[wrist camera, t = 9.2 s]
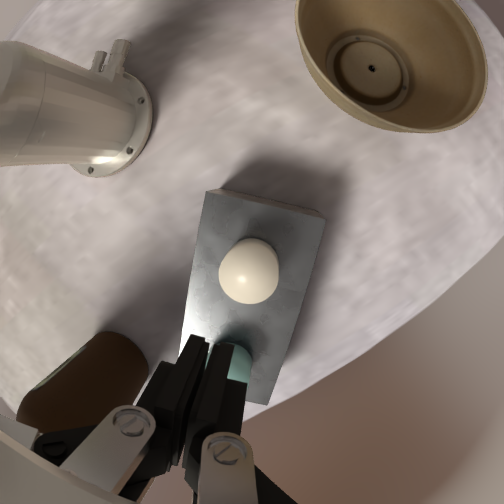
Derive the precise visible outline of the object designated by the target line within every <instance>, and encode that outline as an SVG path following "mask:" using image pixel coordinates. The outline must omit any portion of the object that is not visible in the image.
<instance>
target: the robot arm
mask: <svg viewBox="0 0 504 504" xmlns="http://www.w3.org/2000/svg"><path fill="white" fill-rule="evenodd" d="M130 45H131V42H129V41H127V40H123V39H117V40H115V41H114V44H113V47H112V50H111V53H110V58H109V61H108V64H107V65H104V67H103V70H102V71H101V69H102V66H103V64H104V61H105V58H106V55H107V53H106V52H104V51H96V53H95V56H94V59H93V64H92V67H91V70H87V69H85V68H83V67H81V66H78V65H76V64H74V63H71V62H69V61H67V60H64V59H62V58H60V57H57V56H55V55H52V54H50V53H47V52H45V51H42V50H40V49H37V48H35V47H33V46H30V45H28V44H25V43H21V42H17V41H1V42H0V167H4V166H19V165H40V164H70V165H71V167H72V168H73V169H74V170H76V171H77V172H79V173H80V174H82V175H85V176H88V177H95V178H98V177H107V176H111V175H114V174H116V173H118V172H120V171H122V170H123V169H125V168H126V167H127V166H129V165H130V164H131V163H132V162H133V161H134V160H135V159H136V158H137V156H138V155H139V153H140V152H141V150H142V149H143V147H144V145H145V143H146V141H147V139H148V136H149V133H150V130H151V125H152V118H153V112H152V103H151V98H150V95H149V93H148V91H147V89H146V87H145V86H144V85H143V84H142V82H141V81H139V80H138V79H137V78H136V77H134V76H132V75H130V74H129V73H126V72H124V71H125V68H124V67H123V64H124V60H125V58H126V56H127V53H128V50H129V47H130ZM144 100H145V101H144ZM143 101H144V103H143ZM132 149H133V153H132ZM209 345H210V343H209V342H205V337H201V336H197V335H194V334H190V336H189V338H188V340H187V342H186V344H185V346H184V348H183V350H182V352H181V354H180V356H179V358H178V360H177V362H176V364H172V363H168V362H165V361H161V362H160V364H159V366H158V367H157V369H156V371H155V372H154V374H153V376H152V378H151V379H150V381H149V383H148V385H147V386H146V388H145V390H144V392H143V393H142V395H141V397H140V399H139V401H138V402H137V404H136V406H134V405H123V406H119V407H117V408H115V409H114V410H112V411H111V412H110V413H109V414H108V415H107V416H106V417H105V418H104V420H103V421H102V422H101V423H100V424H96V425H90V426H85V427H79V428H73V429H67V430H60V431H53V432H48V433H44V434H42V433H39V430H38V429H36V428H33V427H30V426H27V425H25V424H22V423H20V422H17V421H15V420H12V419H10V418H8V417H5V416H3V415H1V414H0V504H140V503H141V501H142V500H143V498H144V496H145V495H146V493H147V492H148V490H149V489H150V487H151V485H152V483H153V482H154V480H155V477H156V476H159V475H162V474H165V472H166V471H168V472H169V471H170V468H171V465H174V466H177V465H178V463H179V459H180V456H181V454H182V451H183V447H184V445H185V448H184V455H183V463H182V468H185V469H186V471H185V478H184V479H185V481H186V482H187V483H188V484H189V486H190V487H191V488H192V489H193V492H192V504H297V503H296V502H295V501H294V500H293V499H292V498H290V497H289V496H288V495H287V494H286V493H285V492H284V491H282V490H281V489H280V488H279V487H278V486H277V485H275V484H274V483H273V482H272V481H271V480H270V479H269V478H268V477H267V476H266V475H265V474H264V473H263V472H261V470H260V469H258V468H257V467H256V466H255V465H254V460H253V451H252V448H251V446H250V444H249V443H248V442H247V441H246V440H245V439H244V438H242V437H241V436H240V433H241V426H242V420H243V413H244V406H245V399H246V392H247V385H248V383H246V382H241V381H237V380H232V379H228V378H227V376H228V372H229V368H230V364H231V360H232V355H233V351H234V347H235V345H233V344H229V343H225V342H220V345H217V344H214V346H213V348H212V351H211V354H210V357H209V360H208V363H207V365H206V362H207V356H208V351H209ZM205 367H206V368H205Z"/></svg>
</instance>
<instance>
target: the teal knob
mask: <svg viewBox="0 0 504 504" xmlns="http://www.w3.org/2000/svg"><path fill="white" fill-rule="evenodd" d="M225 343H228V342H225ZM229 344H233V345H235V347H234V351H233V355H232V360H231V364H230V368H229V372H228V376H227V378H228V379H232V380H237V381H241V382H246V383H248V385H247V389H248V386H249V381H250V374H251V368H252V359H251V356H250V354H249V353H248V352H247V350H245V349H244V348H243V347H241V346H240V345H237V344H234V343H229ZM217 345H220V343H219V344H217ZM212 348H213V347H212ZM212 348H211V349H210V350H209V351H208V356H207V362H206V365H207V363H208V360H209V357H210V354H211V351H212ZM205 368H206V367H205Z"/></svg>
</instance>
